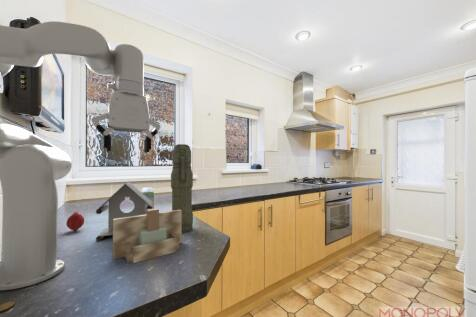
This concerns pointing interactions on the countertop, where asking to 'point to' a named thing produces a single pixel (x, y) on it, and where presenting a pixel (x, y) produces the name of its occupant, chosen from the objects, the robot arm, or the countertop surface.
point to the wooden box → (128, 243)
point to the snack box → (148, 196)
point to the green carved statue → (182, 184)
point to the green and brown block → (152, 228)
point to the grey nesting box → (114, 206)
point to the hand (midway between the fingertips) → (128, 151)
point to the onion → (75, 221)
